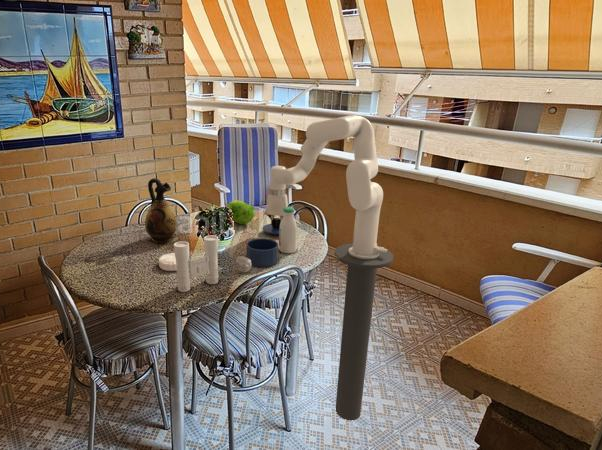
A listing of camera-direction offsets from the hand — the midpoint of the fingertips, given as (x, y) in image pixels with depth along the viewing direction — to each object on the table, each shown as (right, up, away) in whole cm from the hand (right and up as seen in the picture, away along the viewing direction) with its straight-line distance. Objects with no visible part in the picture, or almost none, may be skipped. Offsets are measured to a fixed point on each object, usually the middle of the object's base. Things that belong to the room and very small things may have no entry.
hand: (276, 227), depth 203 cm
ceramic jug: (-57, -6, -3) cm, 58 cm away
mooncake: (-48, -16, -32) cm, 59 cm away
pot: (-10, -14, -30) cm, 34 cm away
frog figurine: (-19, -18, -40) cm, 47 cm away
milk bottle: (+2, -11, -20) cm, 23 cm away
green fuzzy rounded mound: (-18, +2, +18) cm, 26 cm away
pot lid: (0, -1, 0) cm, 1 cm away
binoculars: (-36, -22, -49) cm, 65 cm away
